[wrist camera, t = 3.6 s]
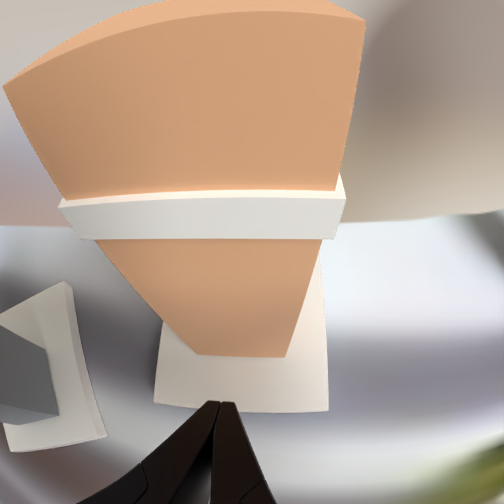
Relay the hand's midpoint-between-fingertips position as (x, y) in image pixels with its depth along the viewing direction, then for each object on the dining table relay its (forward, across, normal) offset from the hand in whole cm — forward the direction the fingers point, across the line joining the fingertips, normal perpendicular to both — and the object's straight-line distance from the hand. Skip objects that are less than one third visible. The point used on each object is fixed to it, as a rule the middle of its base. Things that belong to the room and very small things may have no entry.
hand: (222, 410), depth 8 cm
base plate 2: (+9, 0, +1) cm, 9 cm away
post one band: (+7, 0, 0) cm, 7 cm away
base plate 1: (+5, +14, +5) cm, 16 cm away
